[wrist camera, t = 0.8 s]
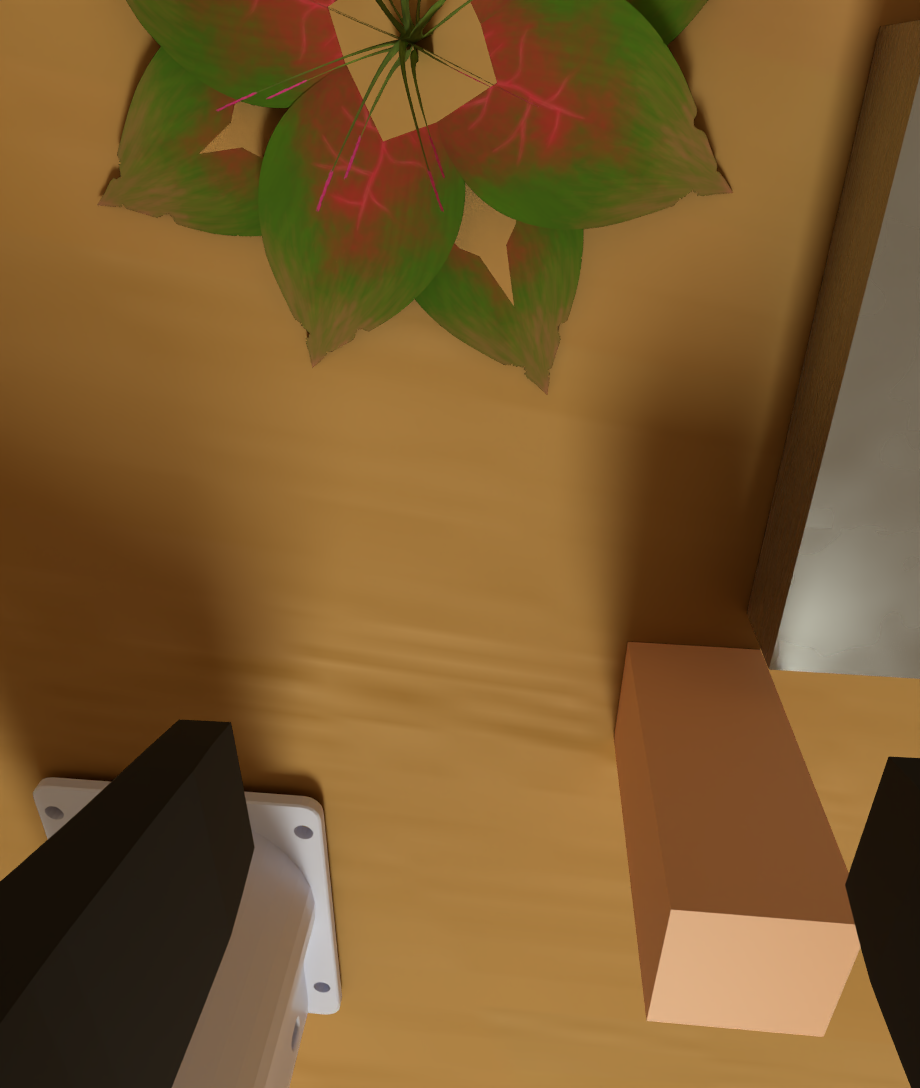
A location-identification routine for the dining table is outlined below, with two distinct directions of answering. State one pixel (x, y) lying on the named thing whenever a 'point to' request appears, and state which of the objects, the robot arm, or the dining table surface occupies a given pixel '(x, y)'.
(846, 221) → the gray square-hole plate
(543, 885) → the dining table surface
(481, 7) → the lily flower
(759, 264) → the dining table surface
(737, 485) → the dining table surface
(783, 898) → the tan square peg
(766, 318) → the dining table surface
